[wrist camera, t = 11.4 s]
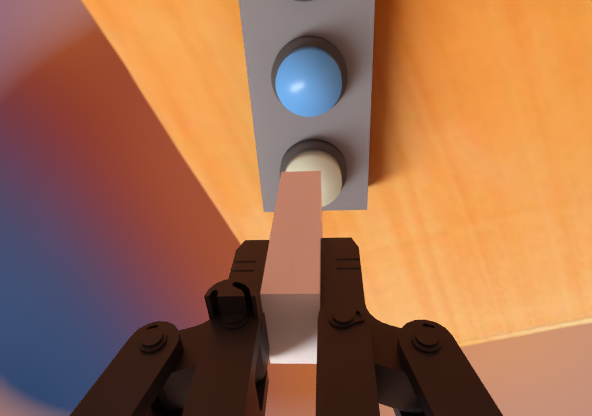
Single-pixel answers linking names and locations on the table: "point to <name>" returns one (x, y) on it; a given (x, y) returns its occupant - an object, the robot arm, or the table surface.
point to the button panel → (330, 125)
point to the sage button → (323, 163)
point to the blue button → (308, 81)
